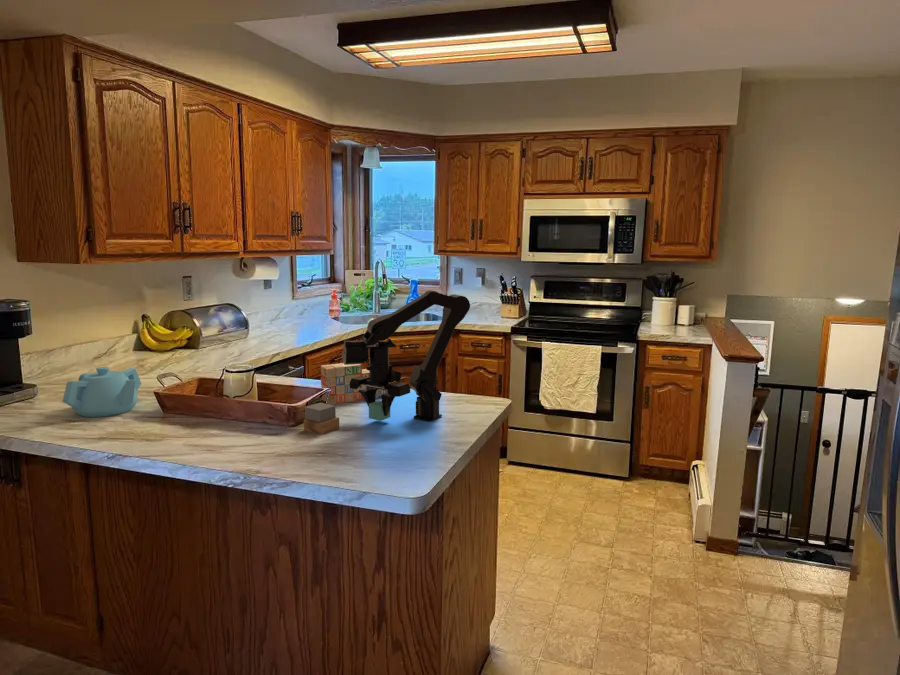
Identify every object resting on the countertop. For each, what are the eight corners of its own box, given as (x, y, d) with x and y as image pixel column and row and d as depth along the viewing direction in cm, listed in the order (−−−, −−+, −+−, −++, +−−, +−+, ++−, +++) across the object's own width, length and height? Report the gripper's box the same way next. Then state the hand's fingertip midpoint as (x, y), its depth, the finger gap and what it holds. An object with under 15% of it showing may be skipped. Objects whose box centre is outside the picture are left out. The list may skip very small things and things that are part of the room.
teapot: (63, 421, 171) (59, 375, 169) (79, 404, 188) (75, 362, 186) (137, 415, 177) (134, 371, 175) (145, 400, 195) (142, 359, 193)
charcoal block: (335, 417, 167) (335, 405, 166) (320, 422, 162) (319, 410, 161) (320, 414, 170) (320, 402, 169) (305, 419, 165) (304, 407, 164)
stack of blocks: (379, 392, 207) (379, 358, 205) (386, 396, 202) (386, 362, 200) (321, 400, 197) (320, 364, 195) (327, 404, 191) (326, 368, 189)
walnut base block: (339, 429, 167) (339, 417, 167) (321, 436, 161) (321, 423, 161) (321, 425, 171) (321, 413, 170) (303, 431, 165) (303, 419, 164)
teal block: (390, 417, 173) (390, 402, 172) (380, 420, 169) (380, 405, 169) (378, 414, 176) (378, 400, 175) (368, 418, 172) (368, 403, 171)
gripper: (421, 361, 172) (421, 412, 174) (372, 354, 181) (372, 403, 184) (398, 368, 162) (398, 422, 165) (347, 360, 172) (348, 411, 175)
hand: (379, 414), depth 172 cm, fingers closed on teal block, 4 cm apart
